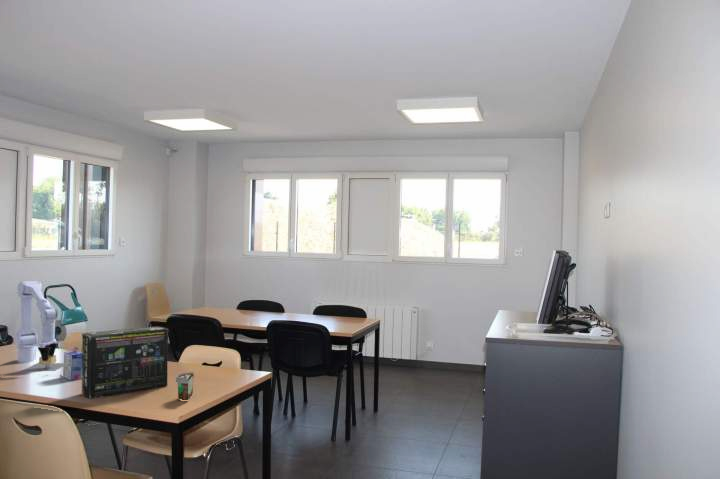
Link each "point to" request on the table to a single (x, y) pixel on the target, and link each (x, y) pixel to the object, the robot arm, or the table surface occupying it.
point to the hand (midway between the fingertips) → (47, 359)
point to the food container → (185, 385)
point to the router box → (124, 361)
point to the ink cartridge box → (72, 365)
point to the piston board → (44, 367)
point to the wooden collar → (50, 360)
